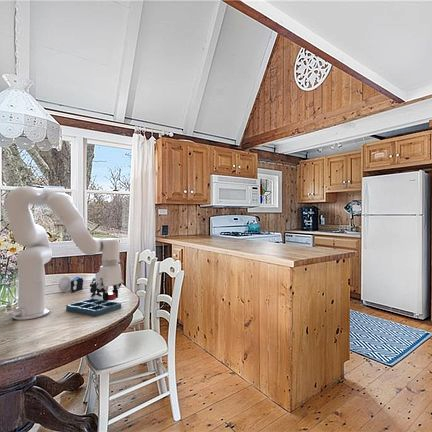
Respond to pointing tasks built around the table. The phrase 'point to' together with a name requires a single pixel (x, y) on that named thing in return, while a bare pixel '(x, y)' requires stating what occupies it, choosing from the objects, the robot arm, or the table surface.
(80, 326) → the table surface
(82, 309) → the grid
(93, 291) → the toy
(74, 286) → the toy
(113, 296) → the cylinder
